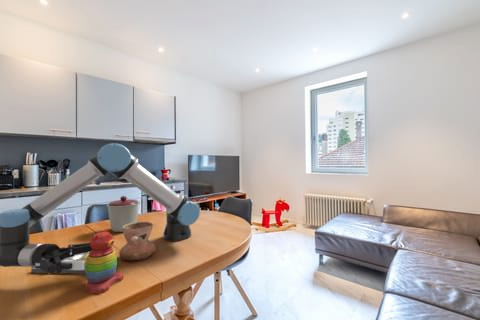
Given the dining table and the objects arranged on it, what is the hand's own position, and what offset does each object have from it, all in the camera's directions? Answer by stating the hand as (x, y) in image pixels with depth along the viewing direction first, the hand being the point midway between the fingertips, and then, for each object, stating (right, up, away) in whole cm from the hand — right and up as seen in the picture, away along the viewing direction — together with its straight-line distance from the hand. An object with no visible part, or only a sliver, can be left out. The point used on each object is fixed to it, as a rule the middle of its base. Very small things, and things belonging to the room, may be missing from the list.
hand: (98, 255), depth 75 cm
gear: (-24, -9, +16) cm, 30 cm away
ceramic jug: (+3, -10, +22) cm, 25 cm away
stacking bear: (+1, -10, 0) cm, 10 cm away
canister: (-24, -11, +61) cm, 66 cm away
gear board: (-19, -10, +15) cm, 27 cm away
